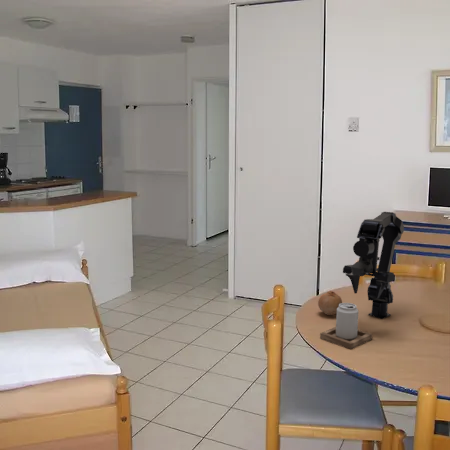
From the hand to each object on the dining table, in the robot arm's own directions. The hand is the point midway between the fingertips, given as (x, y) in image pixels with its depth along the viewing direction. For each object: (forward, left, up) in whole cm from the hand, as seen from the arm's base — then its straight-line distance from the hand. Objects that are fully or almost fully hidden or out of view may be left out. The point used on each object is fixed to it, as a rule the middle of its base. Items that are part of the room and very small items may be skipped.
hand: (366, 295), depth 201 cm
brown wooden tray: (+13, +1, -13) cm, 19 cm away
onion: (-3, -18, -13) cm, 22 cm away
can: (+13, +1, -12) cm, 18 cm away
